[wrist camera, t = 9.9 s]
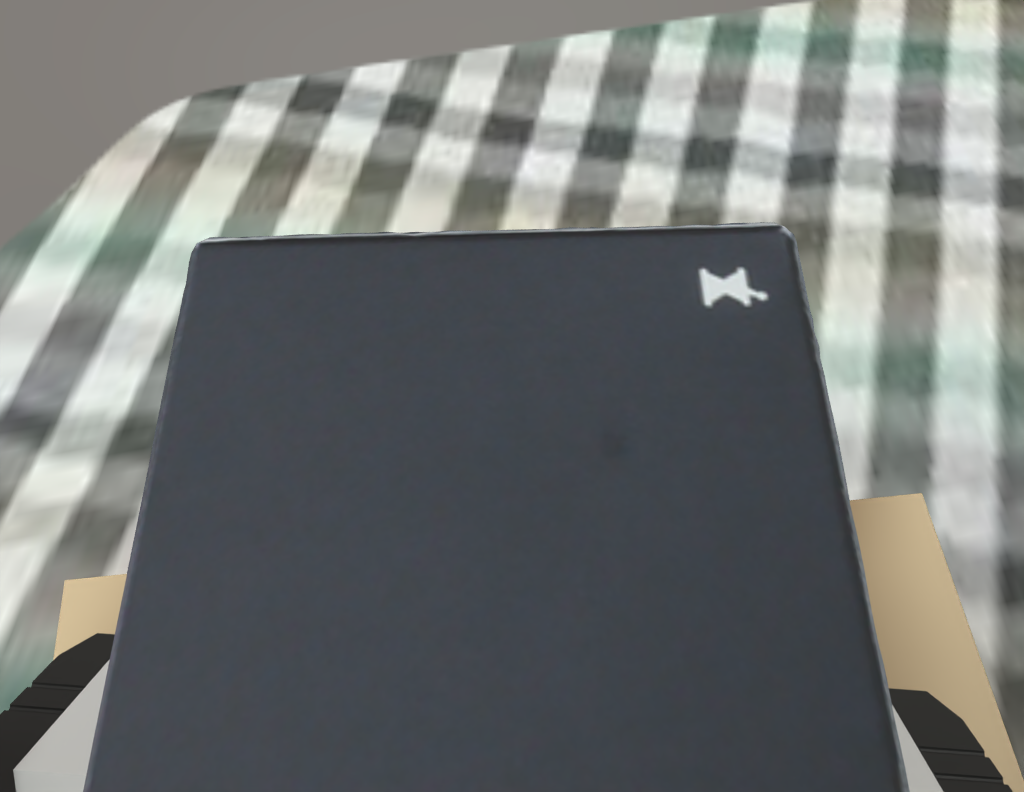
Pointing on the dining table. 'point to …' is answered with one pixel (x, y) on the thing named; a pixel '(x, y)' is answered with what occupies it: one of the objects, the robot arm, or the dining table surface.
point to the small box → (496, 526)
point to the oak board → (893, 597)
